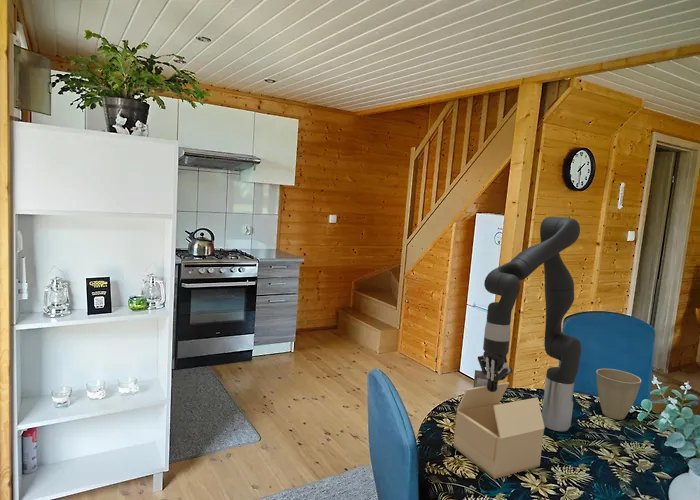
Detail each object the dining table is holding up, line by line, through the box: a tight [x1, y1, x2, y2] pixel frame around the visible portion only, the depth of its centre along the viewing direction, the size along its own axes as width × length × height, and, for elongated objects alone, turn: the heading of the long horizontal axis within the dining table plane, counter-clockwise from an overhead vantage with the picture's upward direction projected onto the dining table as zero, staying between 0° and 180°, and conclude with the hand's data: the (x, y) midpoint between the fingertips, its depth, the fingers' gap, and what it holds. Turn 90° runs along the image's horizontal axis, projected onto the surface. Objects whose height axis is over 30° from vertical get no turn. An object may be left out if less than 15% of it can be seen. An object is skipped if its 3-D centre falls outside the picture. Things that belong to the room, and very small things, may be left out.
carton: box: [453, 402, 545, 480], centre depth 142 cm, size 19×18×12 cm
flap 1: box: [456, 381, 510, 411], centre depth 148 cm, size 17×9×1 cm
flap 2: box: [493, 396, 546, 439], centre depth 135 cm, size 17×9×1 cm
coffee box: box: [472, 369, 488, 388], centre depth 168 cm, size 9×6×16 cm
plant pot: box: [595, 368, 642, 421], centre depth 177 cm, size 15×15×16 cm
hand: (491, 390), depth 145 cm, fingers closed
